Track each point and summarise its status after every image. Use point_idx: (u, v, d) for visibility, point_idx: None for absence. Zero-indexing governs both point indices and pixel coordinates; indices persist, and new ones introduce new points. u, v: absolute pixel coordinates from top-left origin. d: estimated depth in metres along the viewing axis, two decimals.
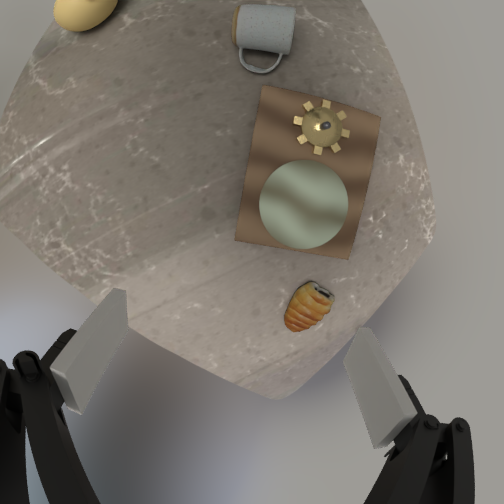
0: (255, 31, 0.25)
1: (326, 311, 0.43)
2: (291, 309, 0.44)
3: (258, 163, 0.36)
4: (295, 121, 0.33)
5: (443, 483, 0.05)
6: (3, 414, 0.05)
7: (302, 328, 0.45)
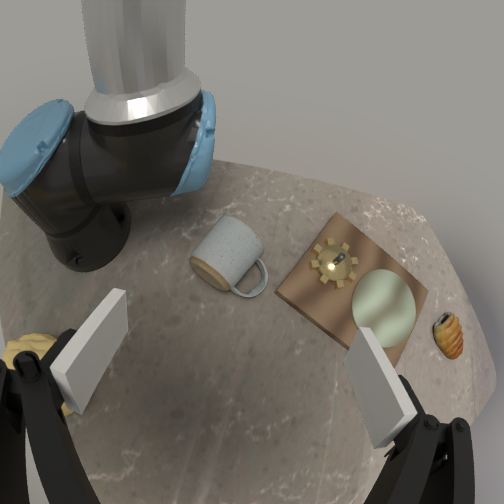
0: (236, 262, 0.34)
1: (457, 320, 0.39)
2: (448, 349, 0.38)
3: (342, 330, 0.37)
4: (324, 281, 0.39)
5: (443, 483, 0.05)
6: (3, 414, 0.05)
7: (462, 344, 0.38)
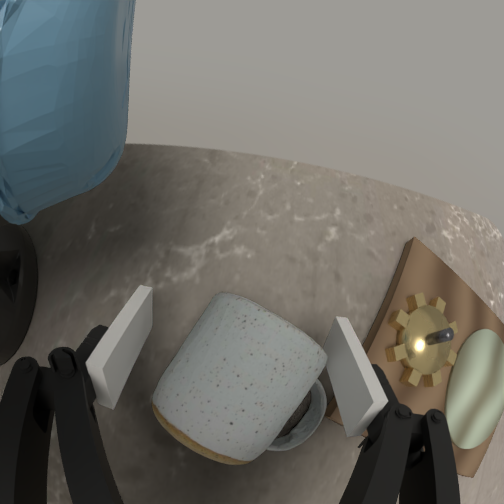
0: (271, 425, 0.11)
1: None
2: None
3: None
4: (414, 382, 0.16)
5: (423, 478, 0.05)
6: (31, 413, 0.05)
7: None
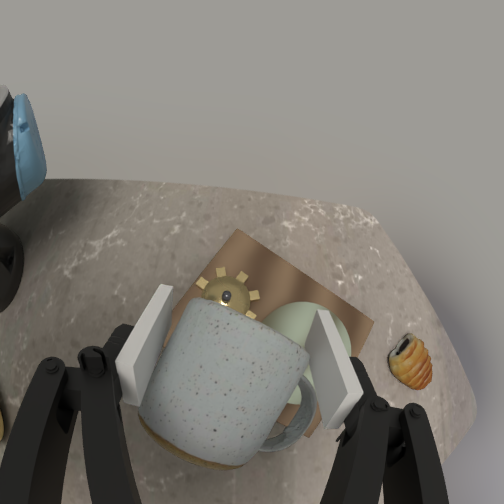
0: (256, 429, 0.11)
1: (422, 344, 0.32)
2: (410, 382, 0.31)
3: None
4: None
5: (406, 475, 0.06)
6: (54, 415, 0.06)
7: (430, 371, 0.32)
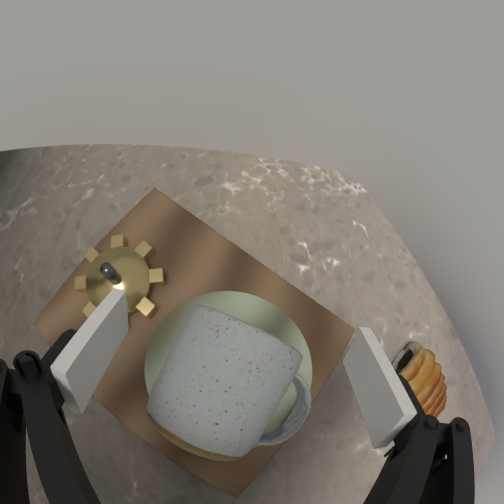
0: (254, 423, 0.12)
1: (432, 358, 0.20)
2: None
3: (126, 406, 0.17)
4: (89, 314, 0.18)
5: (443, 483, 0.05)
6: (4, 414, 0.05)
7: (444, 396, 0.19)
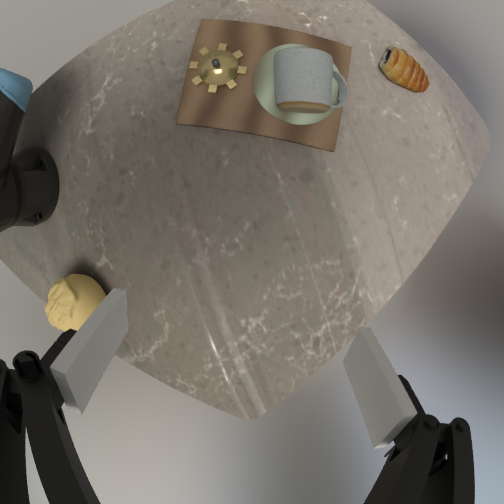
0: (326, 85, 0.27)
1: (404, 52, 0.28)
2: (409, 85, 0.31)
3: (257, 124, 0.35)
4: (213, 90, 0.32)
5: (443, 483, 0.05)
6: (3, 414, 0.05)
7: (424, 75, 0.30)
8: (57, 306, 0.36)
